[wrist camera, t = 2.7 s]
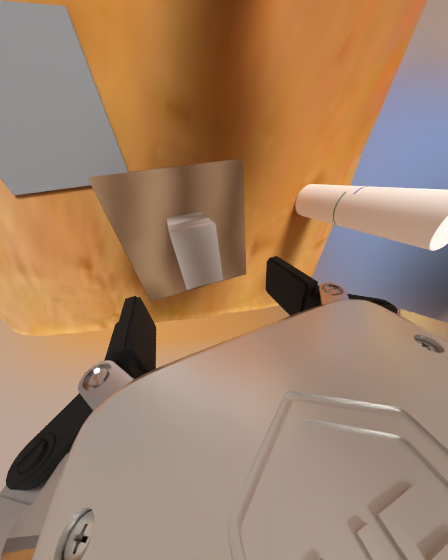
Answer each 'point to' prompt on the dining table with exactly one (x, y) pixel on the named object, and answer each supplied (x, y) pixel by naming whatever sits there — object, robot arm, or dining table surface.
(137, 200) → the lid
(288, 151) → the dining table surface
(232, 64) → the dining table surface
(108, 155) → the mat
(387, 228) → the cylindrical container
